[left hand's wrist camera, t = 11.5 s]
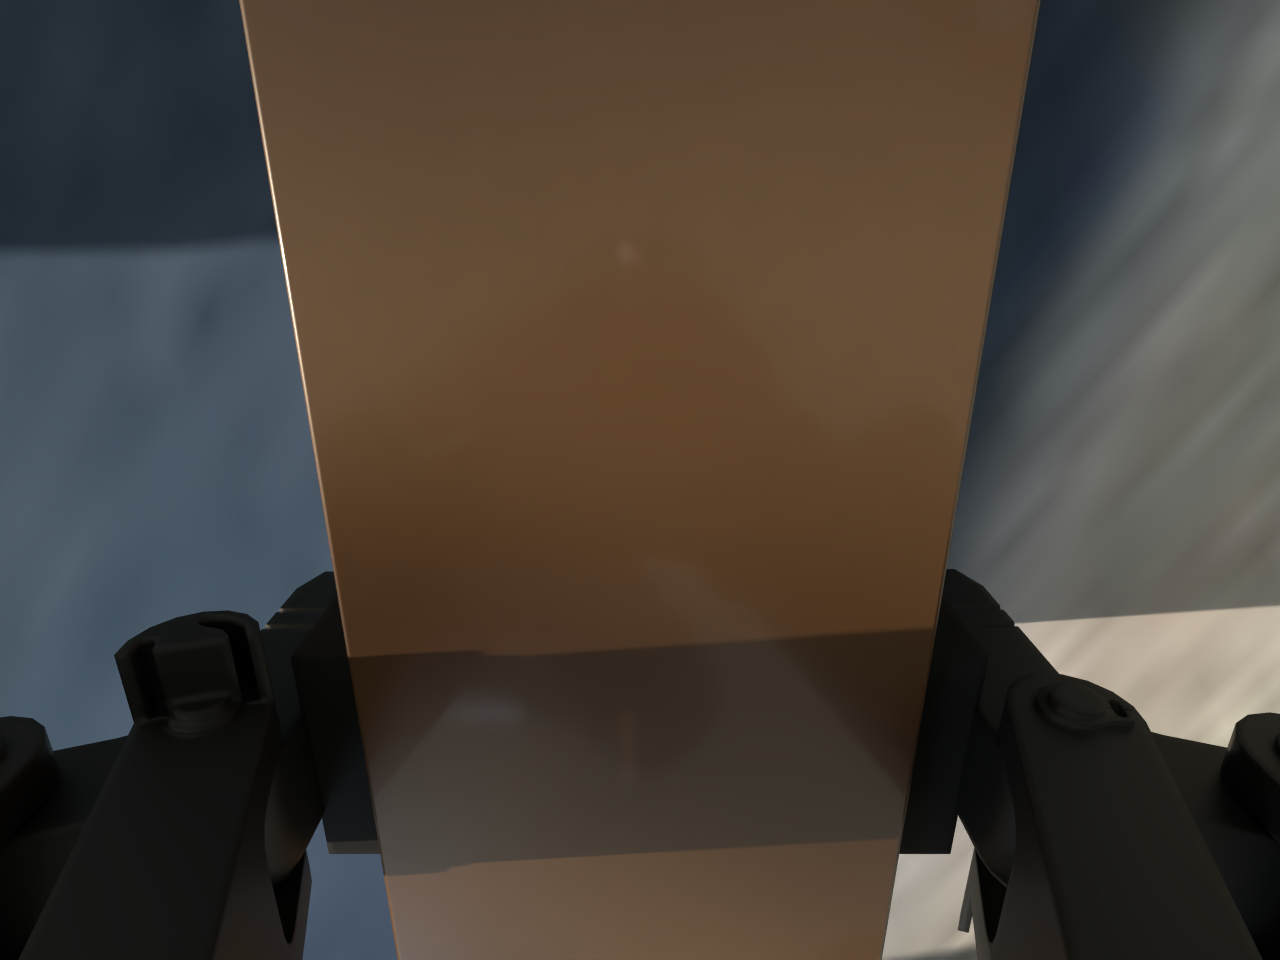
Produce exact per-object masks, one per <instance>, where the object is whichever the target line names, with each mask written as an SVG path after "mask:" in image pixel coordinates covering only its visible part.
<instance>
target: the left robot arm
mask: <svg viewBox="0 0 1280 960" xmlns="http://www.w3.org/2000/svg"><path fill="white" fill-rule="evenodd" d="M114 656H115V660H116V663H117V667H118V670H119V673H120V677H121V680H122V684H123V687H124V690H125V694H126V697H127V701H128V704H129V707H130V711H131V714H132V718H133V721H134V724H133V726H132V729H131V731H130V733H129V735H128V736H124V737H120V738H116V739H111V740H106V741H101V742H96V743H91V744H86V745H81V746H77V747H72V748H67V749H62V750H57V751H53V750H52V747H51V744H50V741H49V738H48V736H47V733H46V730H45V727H44V726H43V725H41V724H40V723H38V722H37V721H35V720H34V719H33V718H24V717H14V716H8V717H1V718H0V960H302V958H303V950H304V942H305V933H306V925H307V917H308V909H309V900H310V892H311V884H312V880H311V873H310V866H309V861H308V856H307V852H306V848H307V846H308V844H309V842H310V840H311V838H312V836H313V834H314V832H315V830H316V828H317V826H318V824H319V822H320V820H321V818H322V820H323V825H324V830H325V835H326V840H327V845H328V851H329V854H380V848H379V842H378V836H377V830H376V824H375V818H374V812H373V806H372V800H371V794H370V788H369V782H368V776H367V770H366V764H365V758H364V752H363V746H362V739H361V733H360V727H359V721H358V715H357V709H356V703H355V697H354V691H353V685H352V679H351V673H350V667H349V661H348V655H347V649H346V643H345V637H344V631H343V625H342V619H341V613H340V607H339V601H338V594H337V588H336V582H335V576H334V572H324V573H322V574H320V575H319V576H317V577H315V578H314V579H312V580H310V581H309V582H307V583H305V584H304V585H302V586H300V587H299V588H297V589H296V590H295V591H294V592H293V594H292V595H291V596H290V597H289V598H288V599H287V601H286V602H285V603H284V604H283V605H282V606H281V608H280V612H276V613H275V615H274V616H273V617H272V618H271V619H270V620H269V622H268V623H267V624H266V628H265V629H262V630H261V631H260V628H259V623H258V622H257V621H256V620H255V619H253V618H252V617H250V616H249V615H248V614H244V613H238V612H233V611H209V612H200V613H195V614H191V615H186V616H182V617H177V618H174V619H171V620H169V621H166V622H163V623H161V624H158V625H156V626H153V627H150V628H148V629H147V630H145V631H143V632H142V633H140V634H138V635H137V636H135V637H133V638H132V639H130V640H128V641H127V642H126V643H125V644H124V645H123V646H122V647H121V648H120V649H119V651H118V652H117V653H116V654H115V655H114ZM958 816H959V818H960V819H961V821H962V823H963V825H964V827H965V829H966V831H967V833H968V835H969V837H970V839H971V841H972V843H973V845H974V852H973V856H972V861H971V866H970V871H969V876H968V880H967V885H966V890H965V895H964V899H963V904H962V909H961V914H960V920H959V927H958V930H960V931H964V932H969V928H970V923H971V919H972V916H973V923H974V931H975V940H976V948H977V956H978V960H1280V714H1277V713H1261V714H1251V715H1247V716H1246V717H1244V718H1243V719H1241V720H1240V721H1238V722H1237V723H1236V725H1235V728H1234V730H1233V733H1232V736H1231V739H1230V742H1229V745H1228V748H1226V747H1221V746H1216V745H1211V744H1206V743H1201V742H1196V741H1191V740H1185V739H1180V738H1175V737H1170V736H1165V735H1161V734H1157V733H1154V732H1151V731H1150V729H1149V727H1148V725H1147V723H1146V721H1145V720H1144V719H1143V718H1142V717H1141V715H1140V714H1139V713H1138V712H1137V710H1136V709H1135V708H1134V707H1133V706H1132V705H1131V704H1129V703H1128V702H1126V701H1125V700H1124V699H1122V698H1121V697H1119V696H1118V695H1116V694H1115V693H1114V692H1112V691H1109V690H1107V689H1105V688H1103V687H1100V686H1098V685H1096V684H1094V683H1091V682H1089V681H1086V680H1082V679H1078V678H1074V677H1070V676H1066V675H1062V674H1059V673H1058V672H1057V671H1056V670H1055V669H1054V667H1053V666H1052V665H1051V664H1050V663H1049V662H1048V661H1047V659H1046V658H1045V657H1044V656H1043V655H1042V654H1041V652H1040V651H1039V650H1038V649H1037V648H1036V647H1035V646H1034V644H1033V643H1032V642H1031V641H1030V640H1029V639H1028V637H1027V636H1026V635H1025V634H1024V633H1023V632H1022V630H1021V629H1020V628H1019V627H1018V626H1015V625H1014V621H1013V620H1012V619H1011V618H1010V617H1009V615H1008V614H1007V613H1006V612H1005V611H1004V610H1000V605H999V604H998V603H997V602H996V600H995V599H994V598H993V597H992V596H991V595H990V594H989V592H988V591H987V590H986V589H985V588H984V587H983V586H982V585H980V584H979V583H977V582H975V581H974V580H972V579H970V578H969V577H967V576H965V575H964V574H962V573H960V572H959V571H957V570H955V569H946V574H945V580H944V586H943V592H942V598H941V604H940V610H939V616H938V622H937V628H936V634H935V640H934V647H933V653H932V659H931V665H930V671H929V677H928V683H927V689H926V695H925V701H924V707H923V713H922V719H921V725H920V731H919V737H918V743H917V749H916V755H915V761H914V767H913V773H912V779H911V785H910V791H909V797H908V803H907V809H906V815H905V821H904V827H903V833H902V839H901V845H900V851H899V854H950V853H951V848H952V843H953V838H954V832H955V827H956V822H957V817H958Z"/></svg>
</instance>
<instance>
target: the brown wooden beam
mask: <svg viewBox="0 0 1280 960" xmlns="http://www.w3.org/2000/svg"><path fill="white" fill-rule="evenodd" d="M1040 1H1041V0H239V2H240V8H241V14H242V20H243V26H244V33H245V39H246V45H247V51H248V57H249V63H250V69H251V75H252V81H253V87H254V93H255V99H256V105H257V111H258V117H259V123H260V129H261V135H262V141H263V147H264V153H265V159H266V165H267V172H268V178H269V184H270V190H271V196H272V202H273V208H274V214H275V220H276V226H277V232H278V238H279V244H280V250H281V256H282V262H283V268H284V274H285V280H286V286H287V292H288V298H289V304H290V310H291V317H292V323H293V329H294V335H295V341H296V347H297V353H298V359H299V365H300V371H301V377H302V383H303V389H304V395H305V401H306V407H307V413H308V419H309V425H310V431H311V437H312V443H313V449H314V455H315V462H316V468H317V474H318V480H319V486H320V492H321V498H322V504H323V510H324V516H325V522H326V528H327V534H328V540H329V546H330V552H331V558H332V564H333V570H334V576H335V582H336V588H337V594H338V601H339V607H340V613H341V619H342V625H343V631H344V637H345V643H346V649H347V655H348V661H349V667H350V673H351V679H352V685H353V691H354V697H355V703H356V709H357V715H358V721H359V727H360V733H361V739H362V746H363V752H364V758H365V764H366V770H367V776H368V782H369V788H370V794H371V800H372V806H373V812H374V818H375V824H376V830H377V836H378V842H379V848H380V854H381V860H382V866H383V872H384V878H385V884H386V891H387V897H388V903H389V909H390V915H391V921H392V927H393V933H394V939H395V945H396V951H397V957H398V960H882V954H883V948H884V942H885V936H886V930H887V924H888V918H889V912H890V906H891V900H892V894H893V888H894V882H895V876H896V870H897V864H898V858H899V851H900V845H901V839H902V833H903V827H904V821H905V815H906V809H907V803H908V797H909V791H910V785H911V779H912V773H913V767H914V761H915V755H916V749H917V743H918V737H919V731H920V725H921V719H922V713H923V707H924V701H925V695H926V689H927V683H928V677H929V671H930V665H931V659H932V653H933V647H934V640H935V634H936V628H937V622H938V616H939V610H940V604H941V598H942V592H943V586H944V580H945V574H946V568H947V562H948V556H949V550H950V544H951V538H952V532H953V526H954V520H955V514H956V508H957V502H958V496H959V490H960V484H961V478H962V472H963V466H964V460H965V454H966V448H967V442H968V436H969V429H970V423H971V417H972V411H973V405H974V399H975V393H976V387H977V381H978V375H979V369H980V363H981V357H982V351H983V345H984V339H985V333H986V327H987V321H988V315H989V309H990V303H991V297H992V291H993V285H994V279H995V273H996V267H997V261H998V255H999V249H1000V243H1001V237H1002V231H1003V225H1004V218H1005V212H1006V206H1007V200H1008V194H1009V188H1010V182H1011V176H1012V170H1013V164H1014V158H1015V152H1016V146H1017V140H1018V134H1019V128H1020V122H1021V116H1022V110H1023V104H1024V98H1025V92H1026V86H1027V80H1028V74H1029V68H1030V62H1031V56H1032V50H1033V44H1034V38H1035V32H1036V26H1037V20H1038V13H1039V7H1040Z"/></svg>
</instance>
